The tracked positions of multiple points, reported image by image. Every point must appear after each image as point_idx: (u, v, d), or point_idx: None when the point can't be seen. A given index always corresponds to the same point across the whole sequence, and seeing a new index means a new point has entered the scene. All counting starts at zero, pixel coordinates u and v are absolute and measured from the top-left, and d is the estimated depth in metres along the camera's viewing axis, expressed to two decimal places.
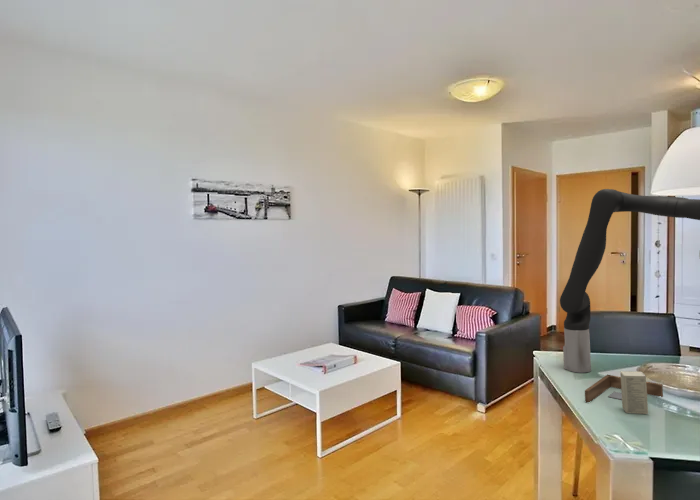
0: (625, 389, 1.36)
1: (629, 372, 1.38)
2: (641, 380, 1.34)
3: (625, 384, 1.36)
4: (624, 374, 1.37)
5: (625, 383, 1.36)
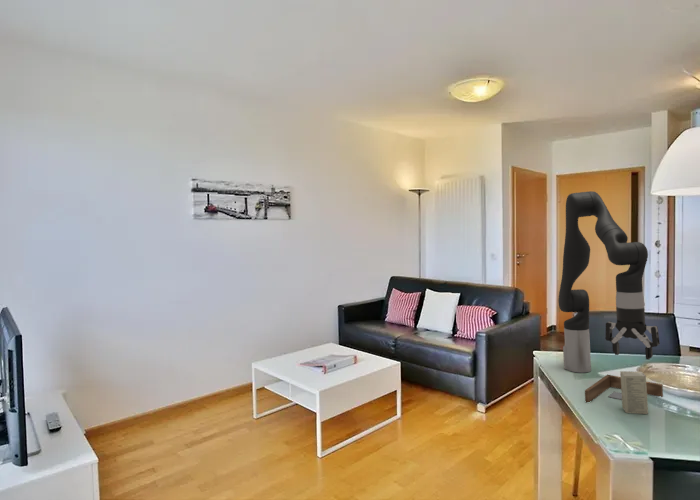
0: (625, 389, 1.36)
1: (629, 372, 1.38)
2: (641, 380, 1.34)
3: (625, 384, 1.36)
4: (624, 374, 1.37)
5: (625, 383, 1.36)
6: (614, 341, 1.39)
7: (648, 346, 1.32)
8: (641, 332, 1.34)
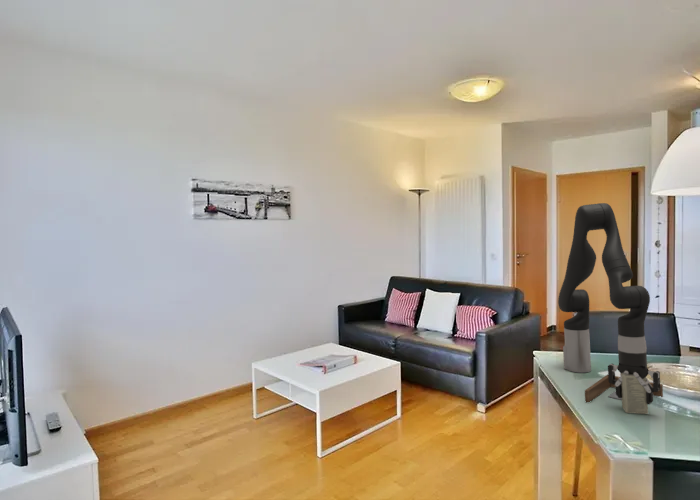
0: (625, 389, 1.36)
1: None
2: None
3: (625, 384, 1.36)
4: (624, 374, 1.37)
5: (625, 383, 1.36)
6: (617, 384, 1.39)
7: (649, 391, 1.33)
8: (643, 377, 1.34)
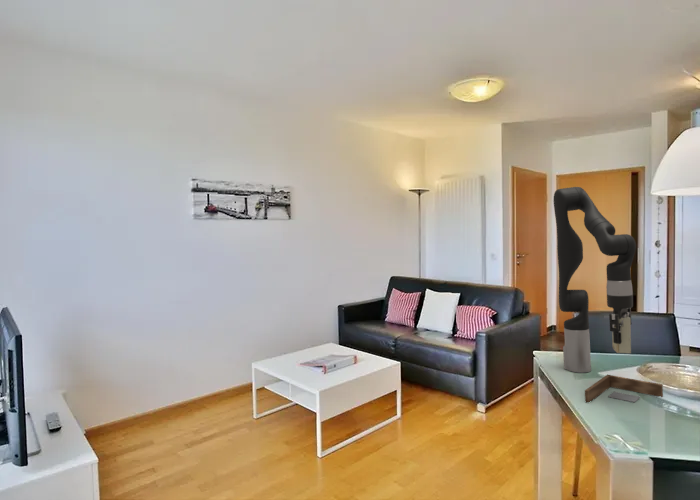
0: (630, 330, 1.45)
1: None
2: None
3: None
4: (626, 317, 1.45)
5: None
6: (620, 330, 1.44)
7: None
8: None
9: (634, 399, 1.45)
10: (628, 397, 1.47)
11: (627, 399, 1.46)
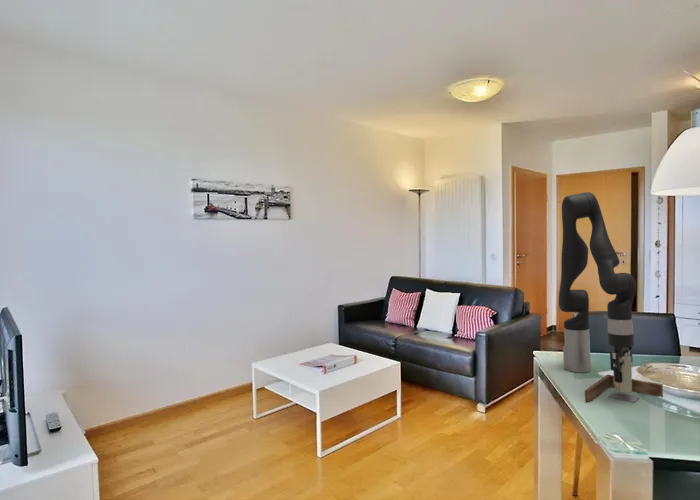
0: (631, 370, 1.45)
1: None
2: None
3: None
4: (627, 356, 1.45)
5: None
6: (621, 369, 1.44)
7: None
8: None
9: (634, 399, 1.45)
10: (628, 397, 1.47)
11: (627, 399, 1.46)
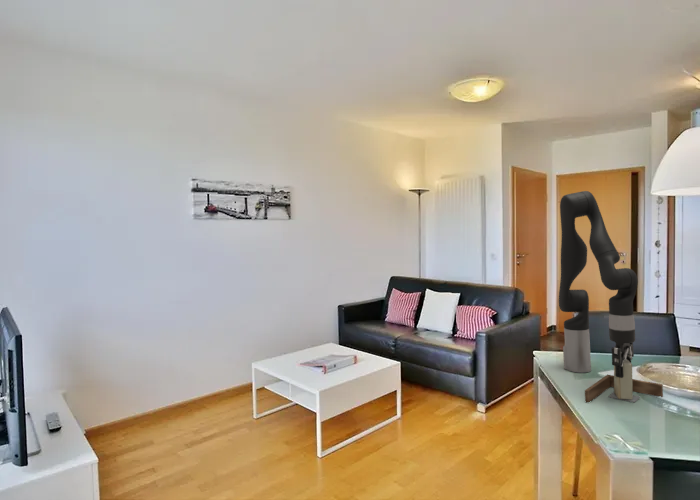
0: None
1: None
2: None
3: None
4: (628, 363, 1.45)
5: None
6: (622, 364, 1.44)
7: (631, 358, 1.50)
8: None
9: (634, 399, 1.45)
10: None
11: (627, 399, 1.46)
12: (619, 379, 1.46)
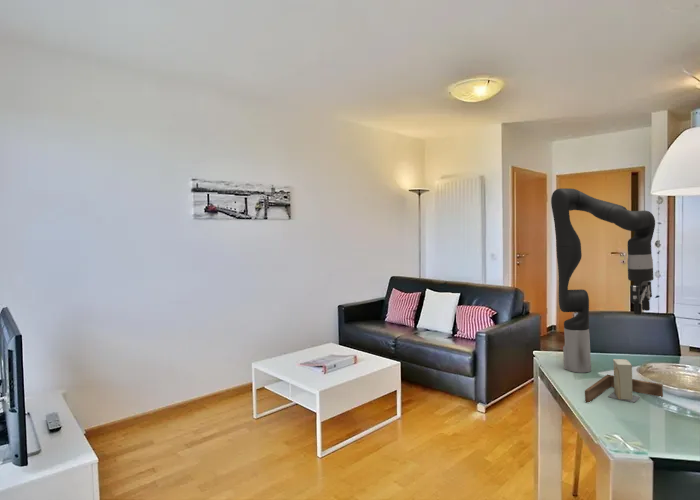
0: None
1: (619, 362, 1.47)
2: None
3: (631, 372, 1.45)
4: (627, 364, 1.45)
5: (631, 372, 1.45)
6: (641, 302, 1.50)
7: None
8: None
9: (634, 399, 1.45)
10: None
11: None
12: (619, 380, 1.46)
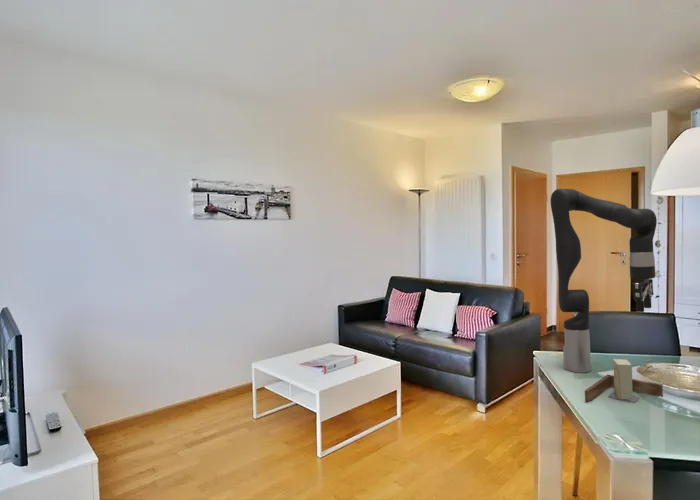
0: None
1: (619, 362, 1.47)
2: None
3: (631, 372, 1.45)
4: (627, 364, 1.45)
5: (631, 372, 1.45)
6: (643, 299, 1.51)
7: (651, 296, 1.57)
8: None
9: (634, 399, 1.45)
10: None
11: None
12: (619, 380, 1.46)
